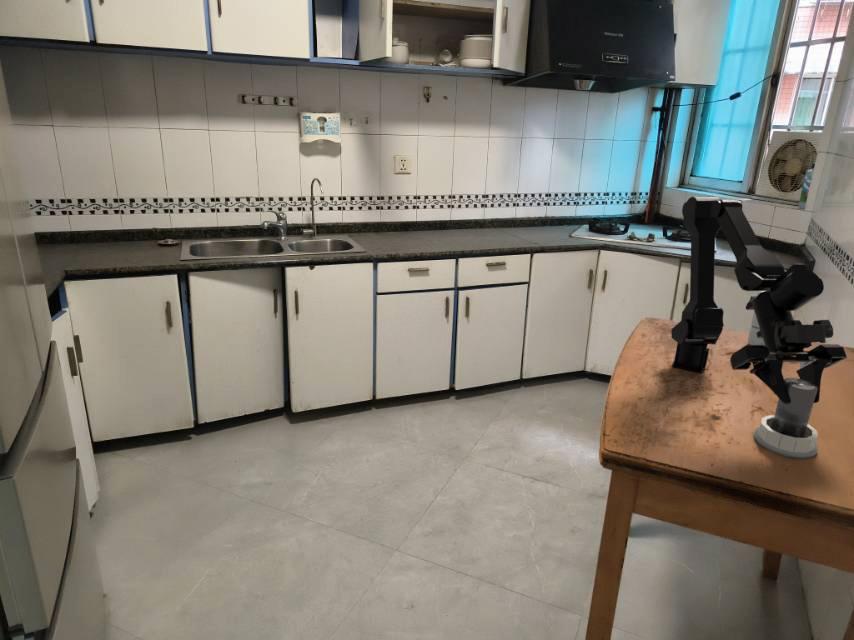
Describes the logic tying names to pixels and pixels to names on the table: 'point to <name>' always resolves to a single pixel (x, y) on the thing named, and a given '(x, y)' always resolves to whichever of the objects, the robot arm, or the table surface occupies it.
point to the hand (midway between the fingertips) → (801, 402)
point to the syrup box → (755, 331)
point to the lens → (795, 408)
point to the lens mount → (786, 440)
